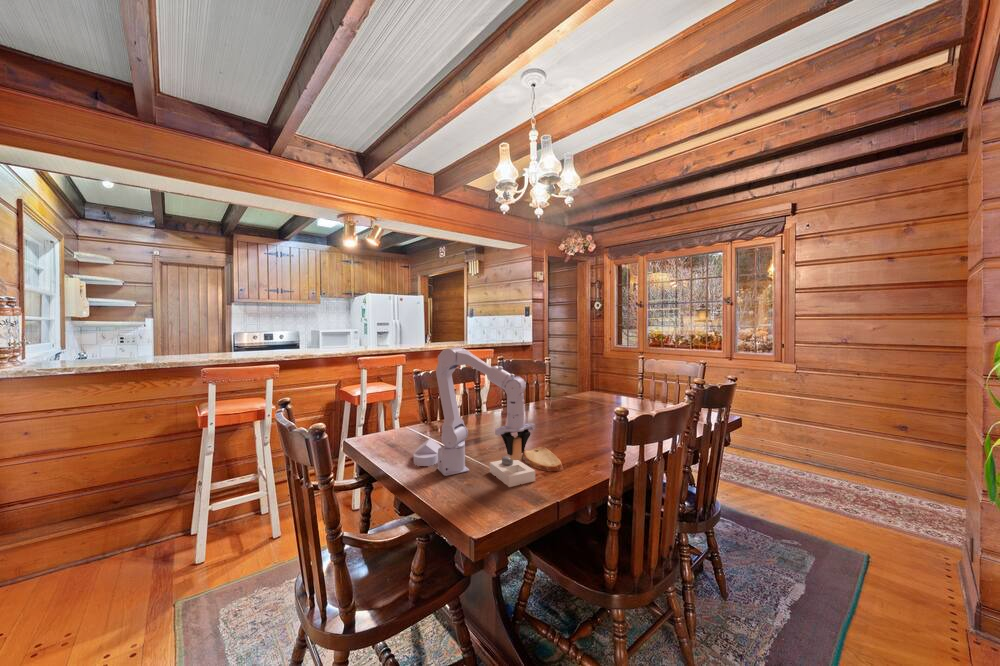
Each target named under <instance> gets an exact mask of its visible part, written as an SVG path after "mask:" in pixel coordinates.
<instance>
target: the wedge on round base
mask: <svg viewBox="0 0 1000 666" xmlns="http://www.w3.org/2000/svg"><path fill="white" fill-rule="evenodd" d="M441 447H442V445H440V444H439V443H438V442H436V441H435V440H434V439H432V438H431V437H429V438H428V439H427V440H425V441H424V442H423V443H422V444H420V445H419V446H418V447H417V449H416V450H415V451H414V453H413V465H414V464H415V466H416V465H417V466H416V467H419V466H428V467H432V466H435V465H437V464H438V449H439V448H441ZM436 463H437V464H436ZM434 464H435V465H434ZM431 465H432V466H431Z"/></svg>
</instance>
